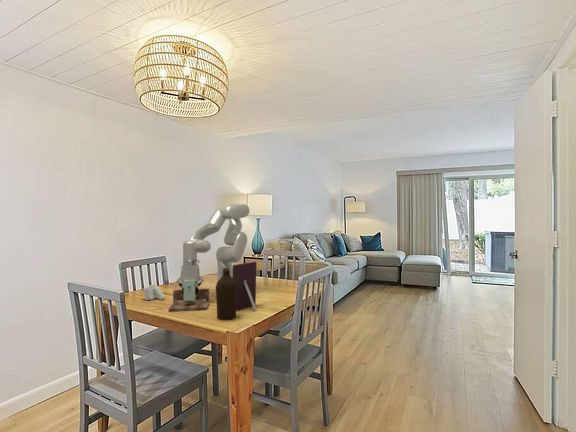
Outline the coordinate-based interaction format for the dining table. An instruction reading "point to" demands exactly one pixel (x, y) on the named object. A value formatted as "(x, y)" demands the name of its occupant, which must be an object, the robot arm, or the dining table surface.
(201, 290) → the board
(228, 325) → the dining table surface
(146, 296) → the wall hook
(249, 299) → the picture frame
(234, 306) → the olive oil
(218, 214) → the robot arm
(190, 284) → the grey-green rectangular block
